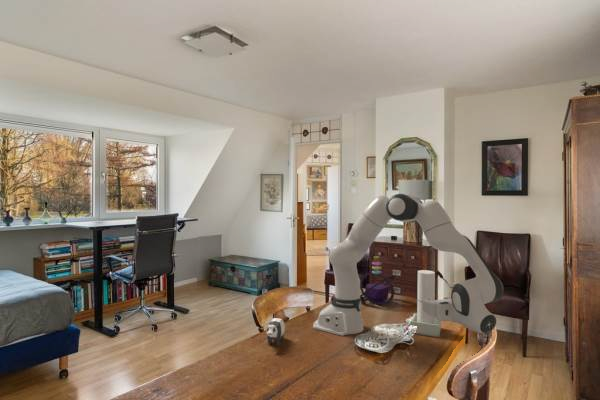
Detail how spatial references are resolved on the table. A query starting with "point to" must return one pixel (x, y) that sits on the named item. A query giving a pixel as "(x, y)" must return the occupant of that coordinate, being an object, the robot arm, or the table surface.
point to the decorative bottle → (377, 286)
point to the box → (426, 327)
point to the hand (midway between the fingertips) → (435, 300)
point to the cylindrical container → (425, 294)
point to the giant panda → (275, 331)
